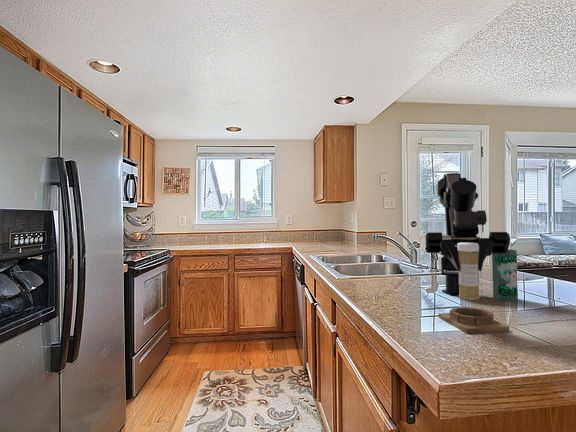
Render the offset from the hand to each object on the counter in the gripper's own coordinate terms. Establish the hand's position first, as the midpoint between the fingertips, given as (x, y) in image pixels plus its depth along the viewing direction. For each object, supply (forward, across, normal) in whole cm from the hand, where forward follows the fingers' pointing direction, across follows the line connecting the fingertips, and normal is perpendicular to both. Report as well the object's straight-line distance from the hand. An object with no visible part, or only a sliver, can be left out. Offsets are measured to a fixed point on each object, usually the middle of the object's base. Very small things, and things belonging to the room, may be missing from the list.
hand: (469, 269), depth 80 cm
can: (-11, +13, +31) cm, 35 cm away
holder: (+9, 0, +10) cm, 13 cm away
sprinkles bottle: (+4, 0, +6) cm, 7 cm away
